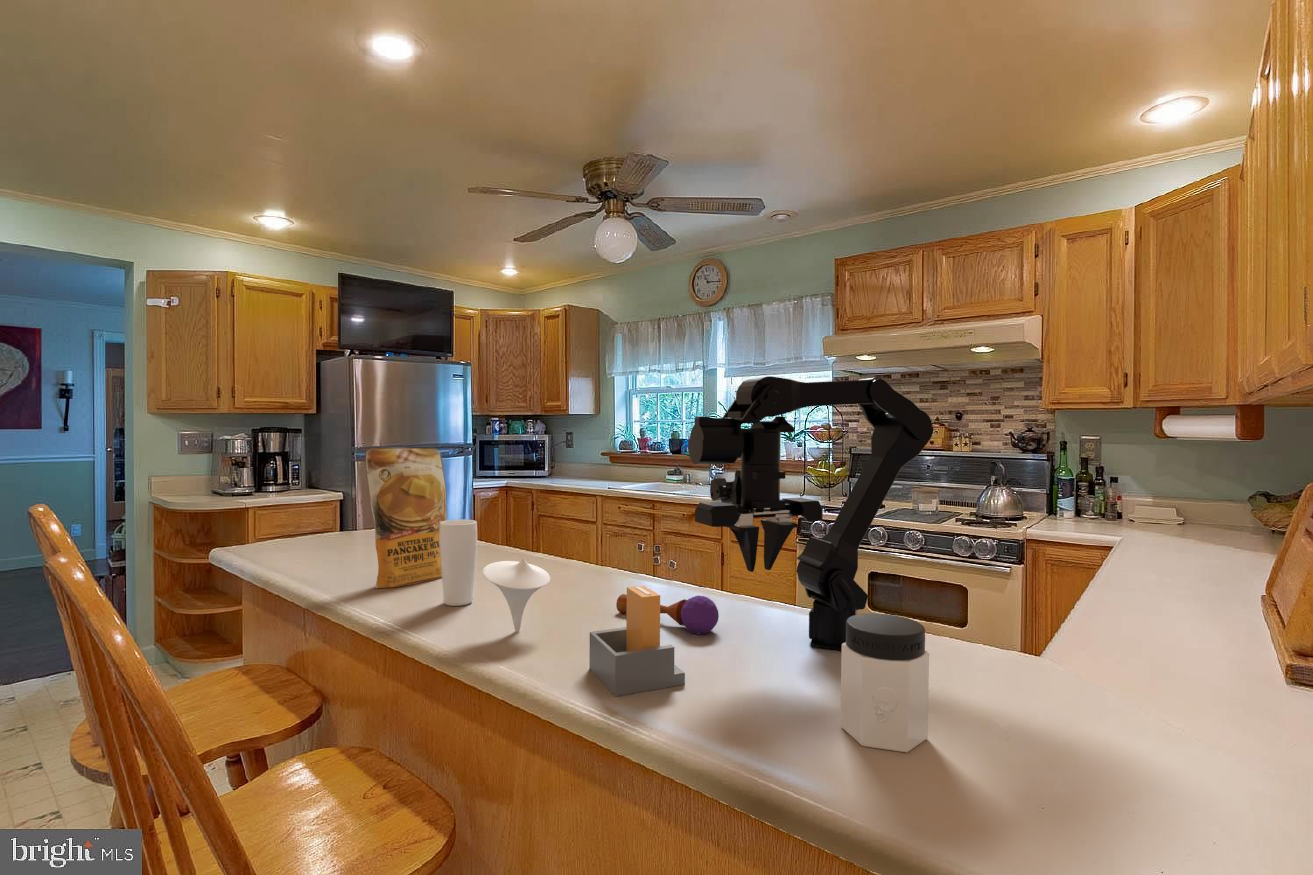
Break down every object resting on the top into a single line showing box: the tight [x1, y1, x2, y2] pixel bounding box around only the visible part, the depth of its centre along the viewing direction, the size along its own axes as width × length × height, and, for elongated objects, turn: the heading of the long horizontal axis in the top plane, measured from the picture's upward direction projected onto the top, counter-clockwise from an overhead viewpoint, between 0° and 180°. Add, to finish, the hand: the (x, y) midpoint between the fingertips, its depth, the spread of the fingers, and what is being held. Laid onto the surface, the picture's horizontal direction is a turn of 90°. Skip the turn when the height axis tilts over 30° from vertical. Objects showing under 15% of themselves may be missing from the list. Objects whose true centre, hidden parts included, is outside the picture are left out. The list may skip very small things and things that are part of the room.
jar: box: [840, 612, 930, 754], centre depth 72 cm, size 9×8×12 cm
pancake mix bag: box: [364, 447, 448, 589], centre depth 138 cm, size 7×19×28 cm, turn 142°
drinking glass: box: [439, 518, 478, 607], centre depth 122 cm, size 7×7×15 cm
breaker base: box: [588, 626, 686, 697], centre depth 87 cm, size 10×10×5 cm
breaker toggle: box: [625, 585, 661, 651], centre depth 88 cm, size 2×6×10 cm, turn 24°
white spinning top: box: [482, 557, 551, 633], centre depth 106 cm, size 10×11×12 cm
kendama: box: [615, 593, 720, 635], centre depth 111 cm, size 6×6×20 cm
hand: (759, 570), depth 97 cm, fingers open, 3 cm apart
